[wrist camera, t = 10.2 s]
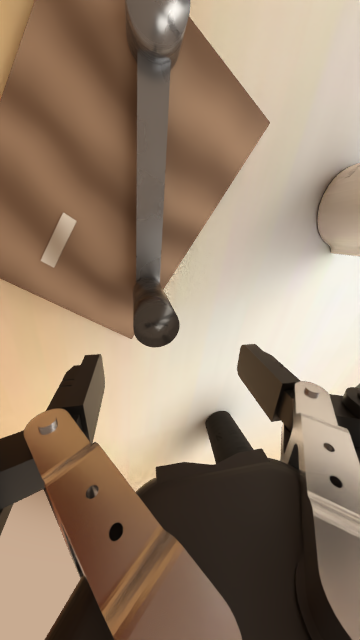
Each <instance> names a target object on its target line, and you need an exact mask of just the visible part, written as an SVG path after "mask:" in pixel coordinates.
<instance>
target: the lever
mask: <svg viewBox="0 0 360 640" xmlns="http://www.w3.org/2000/svg"><path fill="white" fill-rule="evenodd" d="M189 12H190V0H125V16H126V36H127V42H128V46H129V49H130V51H131V54H132V56H133V58H134V59H135V61H136V62H137V177H136V284H135V285H134V288H133V330H134V334H135V336H136V338H137V339H138V340H139V341H140V342H141V343H142V344H144V345H146V346H149V347H161V346H164V345H167V344H168V343H170V342H171V341H172V340H173V339H174V338H175V337H176V335H177V333H178V331H179V320H178V317H177V315H176V313H175V311H174V309H173V308H172V306H171V304H170V302H169V300H168V298H167V296H166V294H165V293H164V291H163V289H162V287H161V285H160V268H161V248H162V228H163V209H164V189H165V169H166V149H167V130H168V110H169V90H170V70H171V69H172V68H173V67H174V65H175V64H176V61H177V59H178V56H179V52H180V48H181V44H182V41H183V37H184V33H185V29H186V25H187V21H188V17H189Z"/></svg>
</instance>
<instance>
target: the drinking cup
mask: <svg viewBox="0 0 360 640" xmlns="http://www.w3.org/2000/svg"><path fill="white" fill-rule="evenodd" d="M206 428H207V432H208V436H209V439H210V443H211V447H212V450H213V454H214V458H215V461H216V464H217V463H219V462H221V461H223V460H225V459H227V458H229V457H231V456H233V455H234V454H236V453H239V452H245V451H250V450H253V448H252V447H251V445H250V444H249V442H248V441H247V439H246V438H245V436H244V435H243V433H242V432H241V430H240V429H239V427H238V426H237V424H236V423H235V421H234V420H233V418H232V417H231V415H230V414H229V413H228V412H225V411H219V412H216V413H214V414H212V415H211V416H209V418H208V419H207V421H206Z"/></svg>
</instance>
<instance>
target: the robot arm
mask: <svg viewBox="0 0 360 640" xmlns="http://www.w3.org/2000/svg"><path fill="white" fill-rule="evenodd" d="M317 223H318V230H319V233H320V236H321V237H322V239H323V240H324V242H326V243H327V244H328V245H329V246H330V247H331V253H333V254H343V255H352V256H360V163H358V164H355V165H353V166H350V167H348V168H346V169H345V170H343V171H342V172H340V173H339V174H338V175H337V176H336V177H335V178H334V179H333V181H332V182H331V183H330V185H329V186H328V188H327V189H326V191H325V193H324V195H323V197H322V200H321V203H320V206H319V211H318V220H317ZM237 371H238V375H239V377H240V378H241V380H242V381H243V383H244V384H245V385H246V387H247V388H248V390H249V391H250V392H251V394H252V395H253V397H254V398H255V399H256V401H257V402H258V404H259V405H260V406H261V408H262V409H263V411H264V412H265V413H266V415H267V416H268V417H269V419H270V420H271V422H274V421H280V420H281V421H282V422H283V425H282V432H281V461H278V460H275V459H271V458H267V456H266V455H265V453H264V451H263V449H256V450H250V451H245V452H239V453H236V454H234V455H233V456H231V457H229V458H227V459H225V460H223V461H221V462H219V463H217V464H215V465H208V464H198V463H187V462H182V463H176V464H171V465H165V466H159V467H156V478H154V479H152V480H150V481H149V482H147V483H146V484H144V485H143V486H142V487H140V488H139V489H138V490H137V491H136V492H135V491H134V490H133V489H132V487H131V486H130V485H129V483H128V482H127V481H126V479H125V478H124V477H123V475H122V474H121V473H120V472H119V470H118V469H117V468H116V466H115V465H114V464H113V462H112V461H111V460H110V458H109V457H108V456H107V454H106V453H105V452H104V451H103V449H102V448H101V447H100V445H99V444H98V443H96V442H94V443H93V438H94V434H95V429H96V425H97V420H98V416H99V411H100V407H101V402H102V398H103V393H104V388H105V378H104V370H103V363H102V356H101V354H97V355H85V357H84V359H83V361H82V363H81V365H77V366H73V367H72V368H71V369H70V370H69V371H67V372H66V374H65V376H64V378H63V380H62V382H61V384H60V385H59V388H58V389H57V391H56V393H55V395H54V397H53V399H52V401H51V402H50V404H49V406H48V408H47V410H46V411H45V412H43V413H41V414H39V415H37V416H36V417H34V418H33V419H32V420H31V421H30V422H29V423H28V424H27V426H26V427H25V430H23V431H21V432H18V433H16V434H13V435H10V436H7V437H4V438H1V439H0V535H1V532H2V530H3V527H4V525H5V523H6V520H7V518H8V515H9V513H10V511H11V508H12V505H13V503H15V502H18V501H19V500H22V499H23V498H26V497H28V496H30V495H32V494H34V493H36V492H38V491H40V490H42V489H44V491H45V494H46V496H47V499H48V501H49V503H50V506H51V508H52V511H53V513H54V515H55V518H56V520H57V523H58V525H59V527H60V530H61V532H62V535H63V537H64V540H65V542H66V545H67V547H68V550H69V552H70V555H71V557H72V559H73V562H74V564H75V567H76V569H77V572H78V574H79V576H80V581H79V583H78V585H77V586H76V588H75V589H74V591H73V593H72V594H71V596H70V598H69V600H68V601H67V603H66V605H65V606H64V608H63V610H62V611H61V613H60V615H59V616H58V618H57V620H56V622H55V623H54V625H53V626H52V628H51V630H50V632H49V633H48V635H47V637H46V638H45V640H360V388H354V387H351V388H347V389H346V391H345V394H344V396H339V395H331V394H328V392H327V391H326V390H325V389H323V388H322V387H320V386H318V385H316V384H314V383H311V382H306V381H300V380H299V379H298V378H297V377H295V376H294V375H293V374H292V373H291V372H290V371H289V370H288V369H287V368H285V367H283V365H282V364H281V363H280V362H278V360H276V359H275V358H274V357H273V356H272V355H270V354H268V353H266V352H263V351H262V350H261V349H260V348H259V347H258V346H257V345H256V344H248V345H242V346H241V348H240V354H239V360H238V366H237ZM92 443H93V444H92Z"/></svg>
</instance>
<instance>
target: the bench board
mask: <svg viewBox="0 0 360 640" xmlns="http://www.w3.org/2000/svg"><path fill="white" fill-rule="evenodd" d="M269 124H270V122H269V121H268V119H267V118H266V117H265V115H264V114H263V113H262V111H261V110H260V109H259V108H258V106H257V105H256V104H255V102H254V101H253V100H252V98H251V97H250V96H249V94H248V93H247V92H246V91H245V89H244V88H243V87H242V85H241V84H240V83H239V81H238V80H237V79H236V77H235V76H234V75H233V73H232V72H231V71H230V70H229V68H228V67H227V66H226V64H225V63H224V62H223V60H222V59H221V58H220V56H219V55H218V54H217V53H216V51H215V50H214V49H213V47H212V46H211V45H210V43H209V42H208V41H207V39H206V38H205V37H204V35H203V34H202V33H201V32H200V30H199V29H198V28H197V26H196V25H195V24H194V22H193V21H192V20H191V18H190V17H188V21H187V25H186V29H185V33H184V37H183V41H182V44H181V48H180V52H179V56H178V59H177V61H176V64H175V65H174V67H173V68H172V69H171V70H170V90H169V110H168V130H167V149H166V169H165V189H164V209H163V228H162V248H161V268H160V285H161V287H162V289H164V287H165V286H166V284H167V283H168V281H169V280H170V278H171V276H172V275H173V273H174V272H175V270H176V269H177V267H178V266H179V264H180V262H181V261H182V259H183V258H184V256H185V255H186V253H187V252H188V250H189V248H190V247H191V245H192V244H193V242H194V241H195V239H196V237H197V236H198V234H199V233H200V231H201V230H202V228H203V227H204V225H205V223H206V222H207V220H208V219H209V217H210V216H211V214H212V213H213V211H214V209H215V208H216V206H217V205H218V203H219V202H220V200H221V199H222V197H223V195H224V194H225V192H226V191H227V189H228V188H229V186H230V185H231V183H232V181H233V180H234V178H235V177H236V175H237V174H238V172H239V170H240V169H241V167H242V166H243V164H244V163H245V161H246V160H247V158H248V156H249V155H250V153H251V152H252V150H253V149H254V147H255V146H256V144H257V142H258V141H259V139H260V138H261V136H262V135H263V133H264V132H265V130H266V128H267V127H268V125H269ZM136 177H137V62H136V61H135V59H134V58H133V56H132V54H131V51H130V49H129V46H128V42H127V36H126V16H125V0H35V2H34V5H33V8H32V11H31V14H30V17H29V19H28V22H27V25H26V28H25V31H24V34H23V37H22V40H21V42H20V45H19V48H18V51H17V54H16V57H15V60H14V63H13V66H12V68H11V71H10V74H9V77H8V80H7V83H6V86H5V89H4V91H3V94H2V97H1V100H0V278H1V279H3V280H5V281H7V282H9V283H11V284H14V285H16V286H18V287H20V288H22V289H24V290H27V291H29V292H31V293H33V294H35V295H37V296H39V297H42V298H44V299H46V300H48V301H50V302H52V303H55V304H57V305H59V306H61V307H63V308H65V309H68V310H70V311H72V312H74V313H76V314H78V315H81V316H83V317H85V318H87V319H89V320H91V321H93V322H96V323H98V324H100V325H102V326H104V327H106V328H109V329H111V330H113V331H115V332H117V333H119V334H122V335H124V336H126V337H128V338H130V339H132V337H133V336H134V330H133V288H134V285H135V284H136Z"/></svg>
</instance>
